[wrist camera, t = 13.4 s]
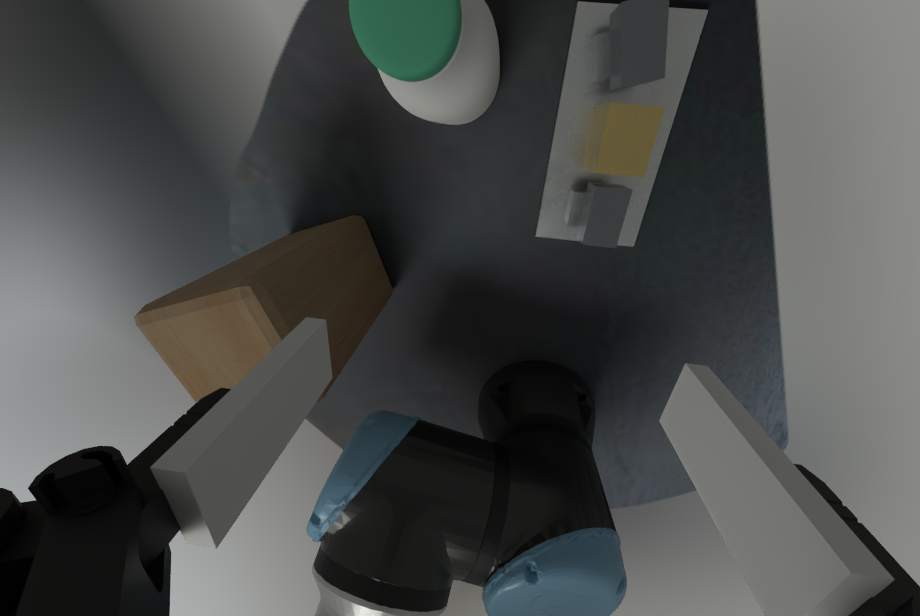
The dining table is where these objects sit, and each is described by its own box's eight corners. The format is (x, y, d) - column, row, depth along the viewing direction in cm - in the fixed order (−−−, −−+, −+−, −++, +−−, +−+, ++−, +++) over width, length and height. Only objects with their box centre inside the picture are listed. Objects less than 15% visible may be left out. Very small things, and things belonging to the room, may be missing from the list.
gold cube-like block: (624, 171, 33) (644, 177, 28) (581, 167, 33) (594, 172, 29) (641, 110, 31) (665, 106, 26) (594, 106, 31) (610, 102, 26)
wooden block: (325, 309, 44) (208, 428, 27) (287, 233, 40) (118, 315, 23) (397, 292, 42) (322, 409, 24) (364, 210, 38) (246, 280, 20)
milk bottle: (491, 10, 29) (476, -171, 12) (506, 113, 33) (513, 93, 15) (404, 38, 31) (274, -86, 13) (427, 134, 34) (347, 138, 16)
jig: (630, 243, 37) (652, 263, 31) (534, 233, 37) (540, 251, 32) (701, 13, 28) (748, -14, 23) (575, 5, 29) (592, -24, 23)
